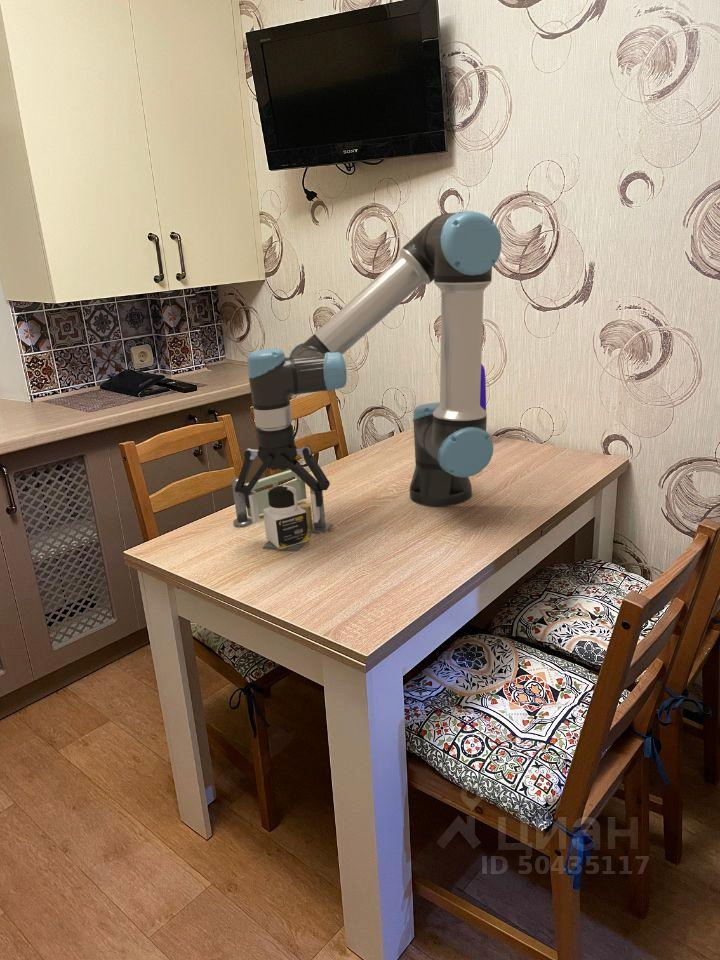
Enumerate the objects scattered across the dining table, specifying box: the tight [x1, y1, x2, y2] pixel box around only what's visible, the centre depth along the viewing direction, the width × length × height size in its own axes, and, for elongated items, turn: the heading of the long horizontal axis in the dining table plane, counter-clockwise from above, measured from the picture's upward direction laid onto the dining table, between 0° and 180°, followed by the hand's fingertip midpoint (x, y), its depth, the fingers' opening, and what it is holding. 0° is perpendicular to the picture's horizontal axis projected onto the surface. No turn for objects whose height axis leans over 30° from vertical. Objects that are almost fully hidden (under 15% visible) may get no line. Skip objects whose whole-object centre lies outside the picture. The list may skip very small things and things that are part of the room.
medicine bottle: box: [262, 485, 310, 549], centre depth 152 cm, size 7×7×12 cm
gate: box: [244, 469, 307, 518], centre depth 170 cm, size 16×1×8 cm, turn 129°
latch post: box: [298, 487, 333, 534], centre depth 158 cm, size 6×4×11 cm
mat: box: [262, 533, 312, 552], centre depth 154 cm, size 8×8×1 cm
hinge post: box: [231, 476, 253, 528], centre depth 164 cm, size 4×4×11 cm
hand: (286, 520), depth 152 cm, fingers open, 13 cm apart
